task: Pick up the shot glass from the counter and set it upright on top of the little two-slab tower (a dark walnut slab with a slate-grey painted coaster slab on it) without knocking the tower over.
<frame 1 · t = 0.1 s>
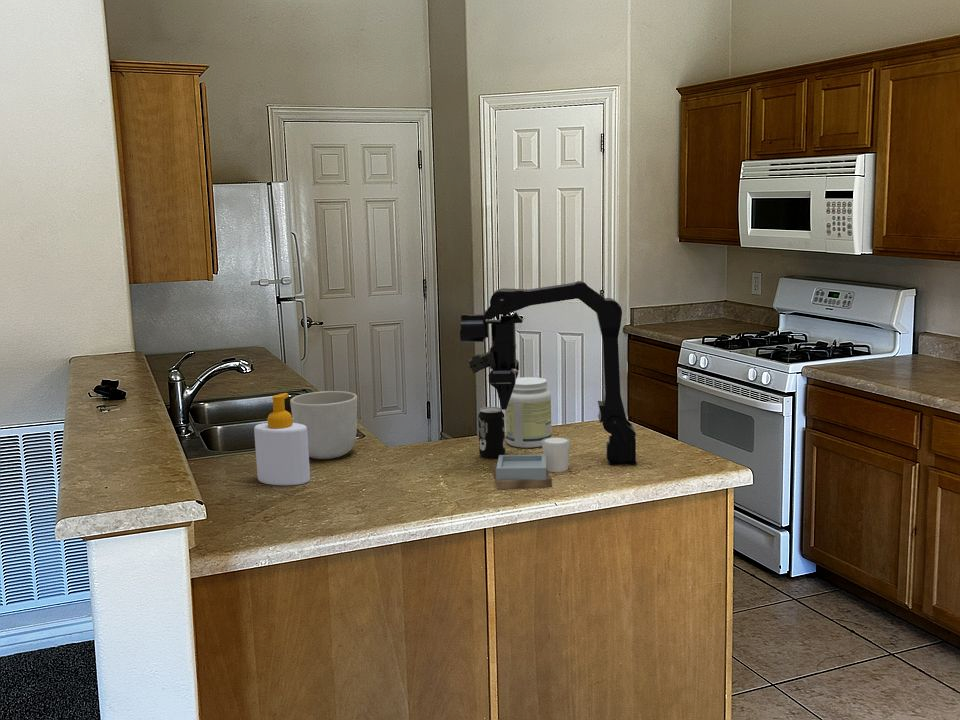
hand: (505, 405, 216), 15 cm above the worktop, fingers open, 9 cm apart
soap bottle: (284, 481, 209), on the worktop
supplement tub: (528, 443, 237), on the worktop
shot glass: (556, 469, 213), on the worktop
slab bottom: (522, 483, 204), on the worktop, touching slab top
slab top: (522, 472, 204), point 2 cm above the worktop, touching slab bottom
beverage can: (492, 456, 226), on the worktop
planter: (327, 455, 231), on the worktop
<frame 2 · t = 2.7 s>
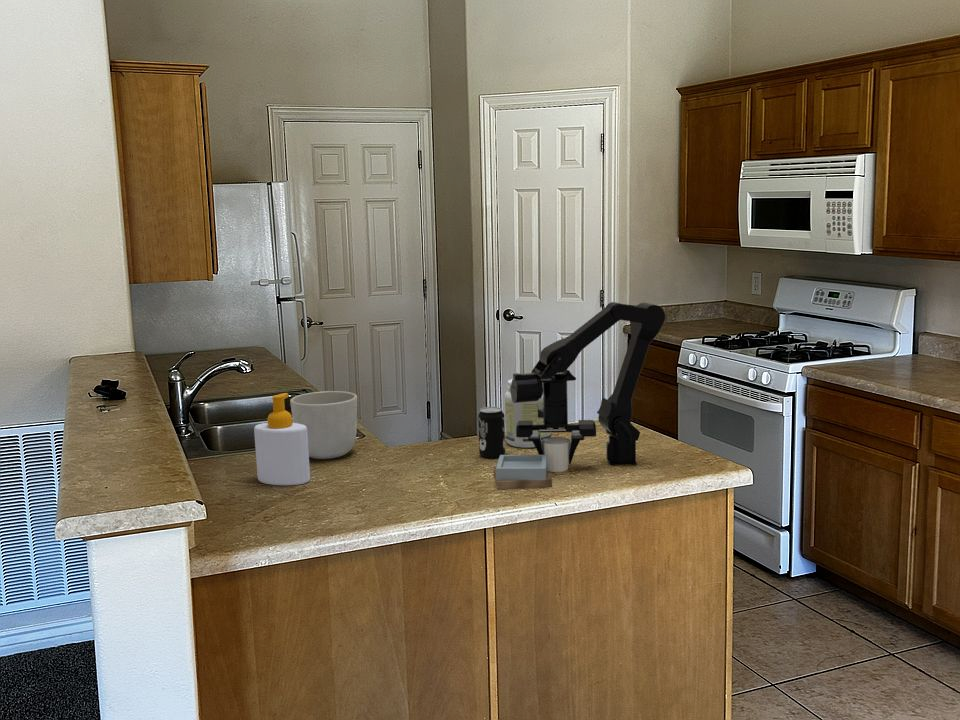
hand: (556, 463, 212), 1 cm above the worktop, fingers closed on shot glass, 6 cm apart
shot glass: (556, 469, 213), on the worktop, touching gripper
everything else where it was.
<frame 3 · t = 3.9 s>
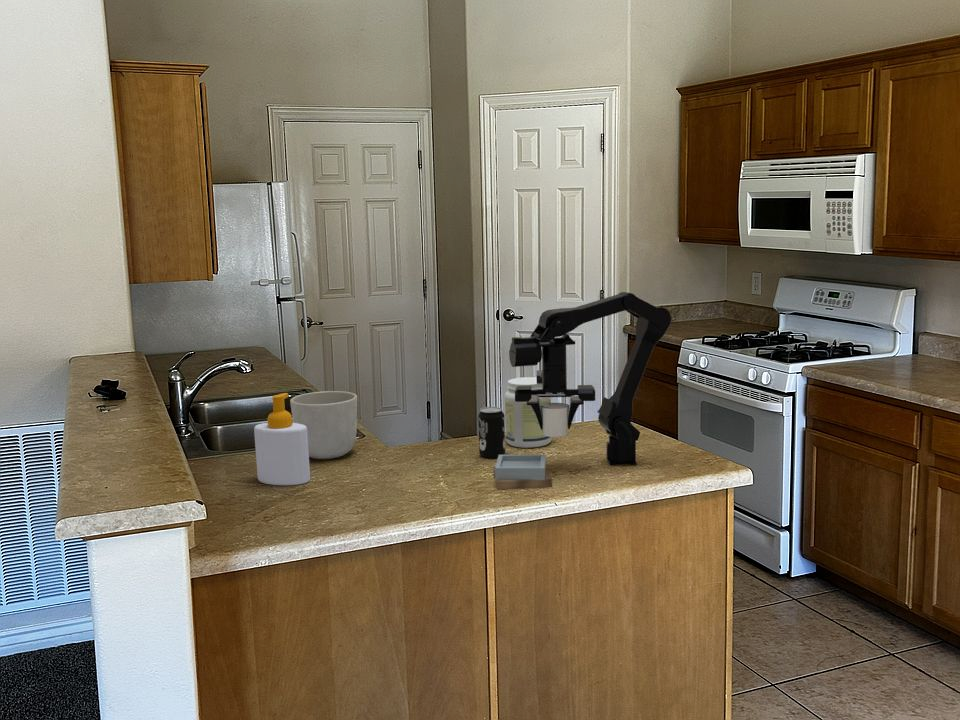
hand: (555, 428, 211), 10 cm above the worktop, fingers closed on shot glass, 6 cm apart
shot glass: (555, 434, 211), point 8 cm above the worktop, touching gripper
everything else where it was.
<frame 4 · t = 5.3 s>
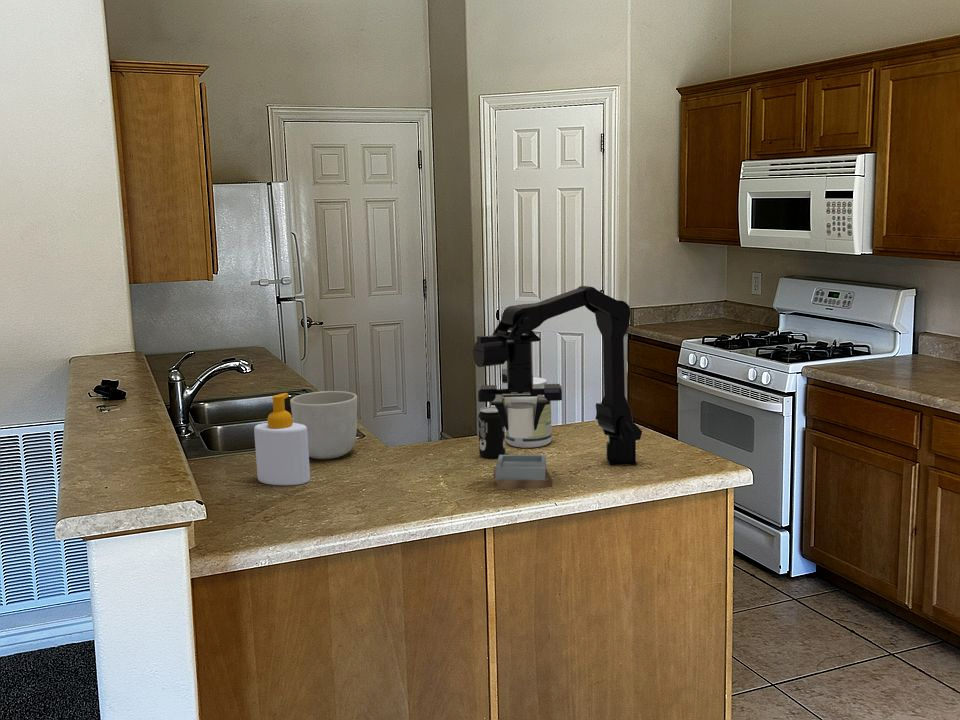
hand: (521, 429, 202), 12 cm above the worktop, fingers closed on shot glass, 6 cm apart
shot glass: (521, 435, 203), point 10 cm above the worktop, touching gripper
everything else where it was.
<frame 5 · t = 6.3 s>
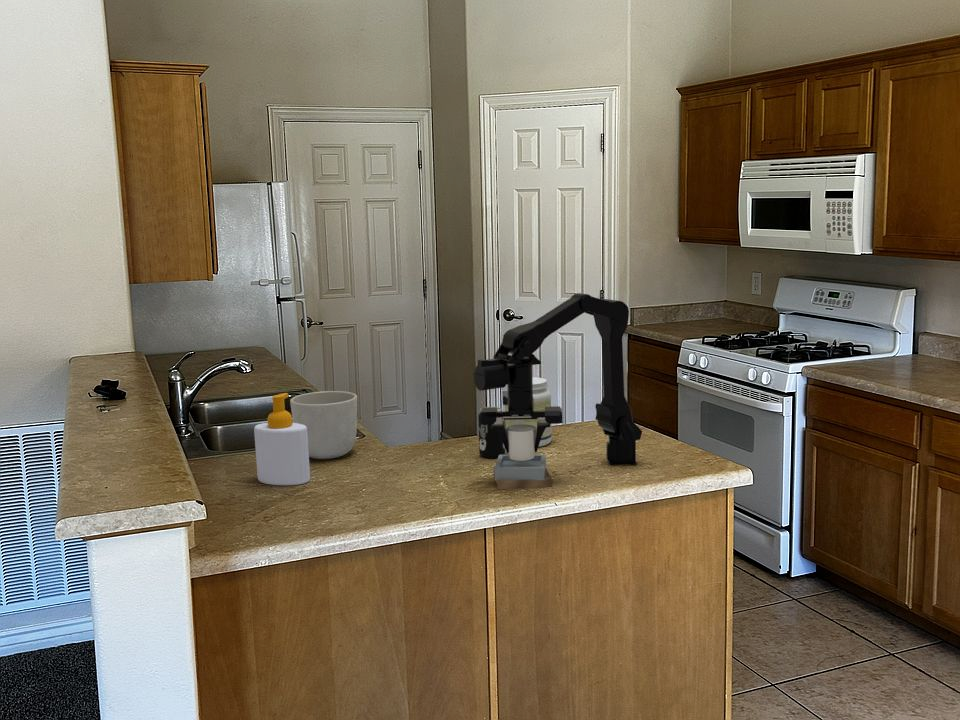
hand: (521, 452, 203), 7 cm above the worktop, fingers closed on shot glass, 6 cm apart
shot glass: (521, 458, 203), point 5 cm above the worktop, touching gripper
everything else where it was.
when the fingers open (6 cm above the worktop, at t = 7.4 s): shot glass drops 1 cm, resting on slab top.
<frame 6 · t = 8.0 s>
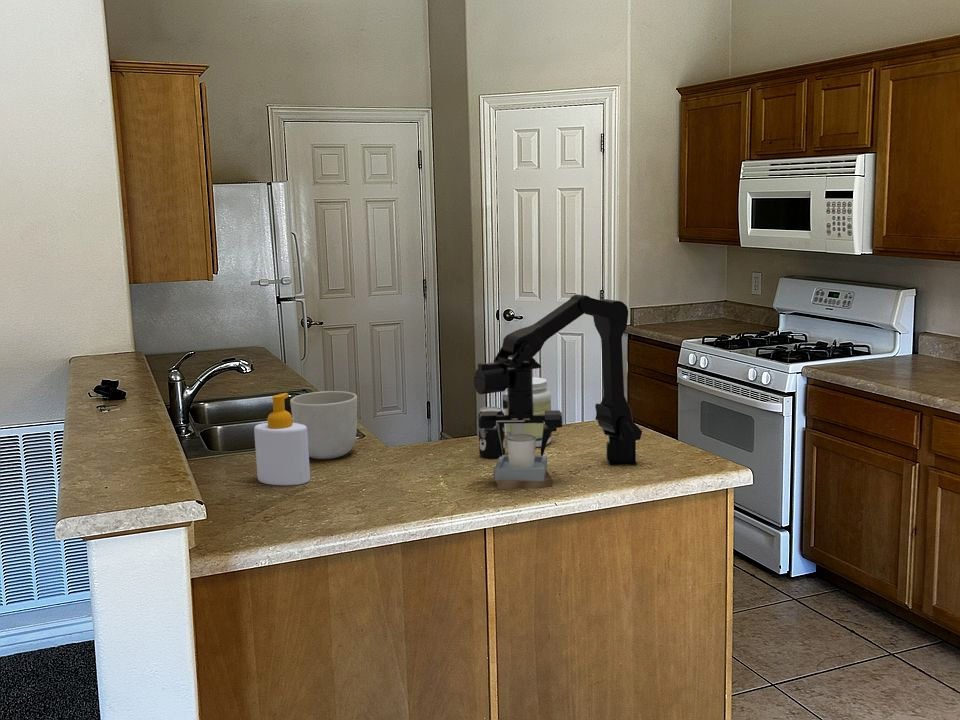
hand: (521, 456, 203), 6 cm above the worktop, fingers open, 9 cm apart
shot glass: (521, 467, 204), point 3 cm above the worktop, touching slab top
slab top: (521, 473, 204), point 2 cm above the worktop, touching shot glass, slab bottom
everything else where it was.
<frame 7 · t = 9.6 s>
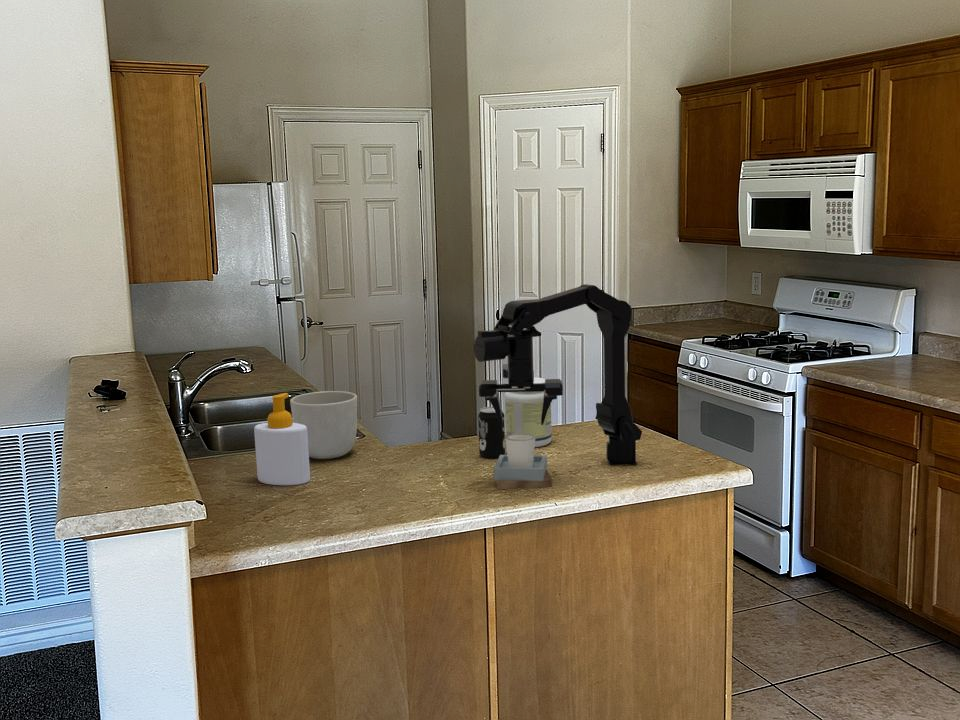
hand: (521, 424, 203), 13 cm above the worktop, fingers open, 9 cm apart
shot glass: (521, 467, 204), point 3 cm above the worktop
slab top: (521, 473, 204), point 2 cm above the worktop, touching slab bottom
everything else where it was.
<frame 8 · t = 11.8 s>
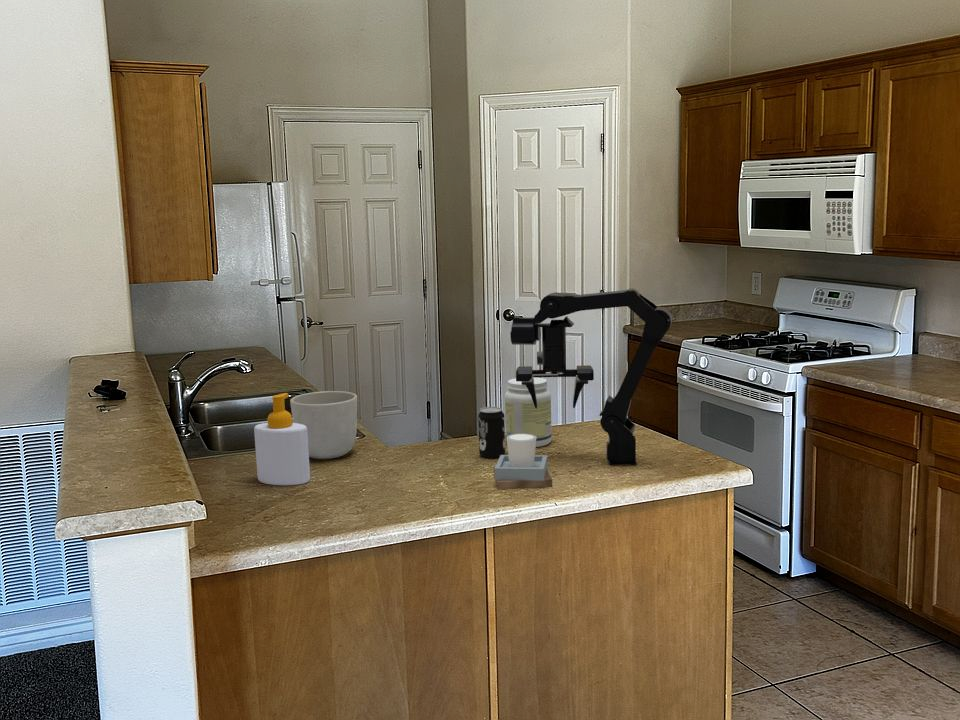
hand: (555, 408, 218), 13 cm above the worktop, fingers open, 9 cm apart
shot glass: (521, 467, 204), point 3 cm above the worktop, touching slab top
slab bottom: (522, 483, 205), on the worktop
slab top: (521, 473, 204), point 2 cm above the worktop, touching shot glass
everything else where it was.
at the end: shot glass inside the target area on the slab bottom (0.2 cm from its centre), point 3.8 cm above the slab bottom's base; shot glass tilted 1°; slab top moved 0.9 cm from its start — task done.
